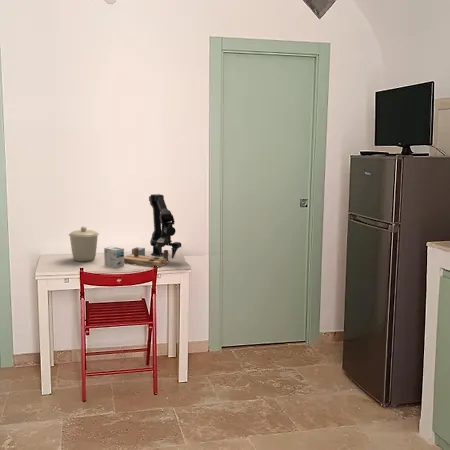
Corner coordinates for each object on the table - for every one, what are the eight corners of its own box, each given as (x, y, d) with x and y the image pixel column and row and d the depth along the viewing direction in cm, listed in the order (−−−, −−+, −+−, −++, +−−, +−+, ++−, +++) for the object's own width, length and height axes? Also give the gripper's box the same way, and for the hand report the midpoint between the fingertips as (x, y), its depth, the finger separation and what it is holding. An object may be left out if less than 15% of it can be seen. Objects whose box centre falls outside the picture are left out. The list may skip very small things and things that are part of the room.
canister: (102, 257, 378) (102, 224, 374) (93, 263, 360) (93, 229, 356) (75, 255, 379) (74, 223, 376) (65, 262, 362) (64, 228, 358)
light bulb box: (124, 265, 358) (124, 248, 356) (116, 267, 352) (116, 250, 350) (112, 262, 364) (111, 245, 362) (104, 265, 358) (103, 247, 356)
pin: (165, 260, 372) (165, 249, 370) (168, 261, 371) (168, 250, 369) (163, 261, 369) (163, 250, 368) (167, 262, 368) (166, 251, 367)
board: (131, 258, 375) (130, 246, 374) (167, 263, 365) (167, 250, 364) (120, 262, 364) (120, 250, 363) (157, 267, 354) (157, 254, 353)
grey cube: (136, 256, 382) (136, 247, 380) (144, 257, 379) (144, 248, 378) (131, 258, 376) (131, 249, 375) (140, 259, 374) (140, 250, 373)
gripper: (146, 233, 363) (146, 258, 366) (173, 236, 356) (173, 261, 359) (155, 230, 373) (155, 254, 376) (181, 233, 366) (181, 258, 369)
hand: (166, 257), depth 370 cm, fingers open, 9 cm apart
